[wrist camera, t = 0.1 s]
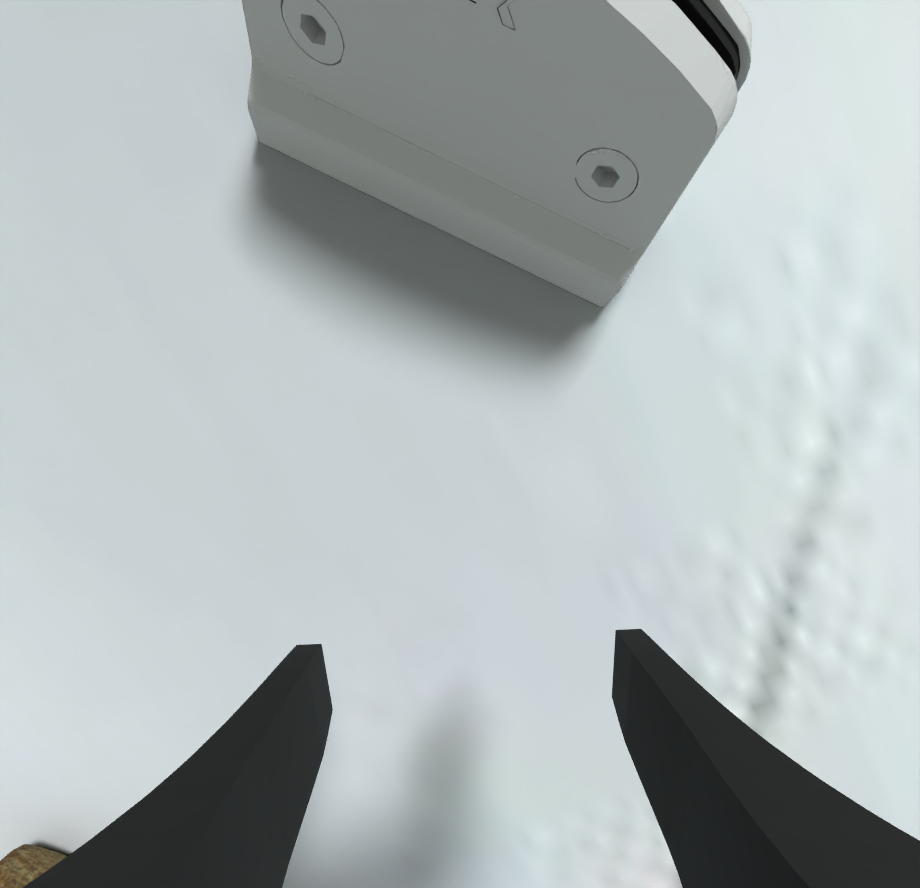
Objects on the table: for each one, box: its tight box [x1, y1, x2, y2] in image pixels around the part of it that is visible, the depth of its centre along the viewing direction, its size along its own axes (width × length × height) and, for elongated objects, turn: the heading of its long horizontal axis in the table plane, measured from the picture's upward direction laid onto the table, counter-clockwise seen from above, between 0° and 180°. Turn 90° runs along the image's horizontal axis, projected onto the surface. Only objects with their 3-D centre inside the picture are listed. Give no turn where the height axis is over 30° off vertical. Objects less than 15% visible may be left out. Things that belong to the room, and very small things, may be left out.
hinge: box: [242, 0, 752, 308], centre depth 16 cm, size 17×5×10 cm, turn 65°
